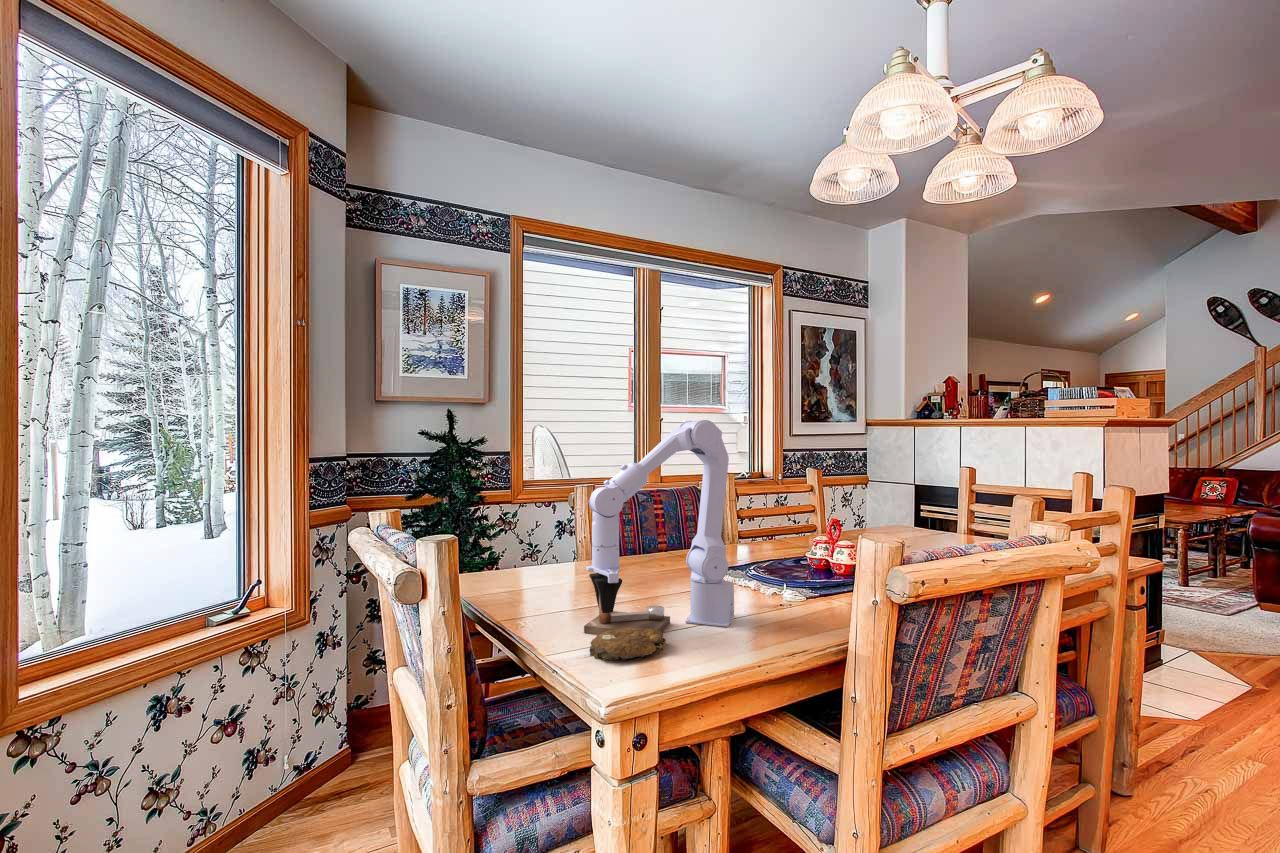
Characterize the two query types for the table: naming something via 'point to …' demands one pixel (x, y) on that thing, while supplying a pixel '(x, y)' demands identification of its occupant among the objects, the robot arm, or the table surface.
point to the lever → (632, 615)
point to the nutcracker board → (625, 624)
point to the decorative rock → (627, 643)
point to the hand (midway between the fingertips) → (605, 610)
